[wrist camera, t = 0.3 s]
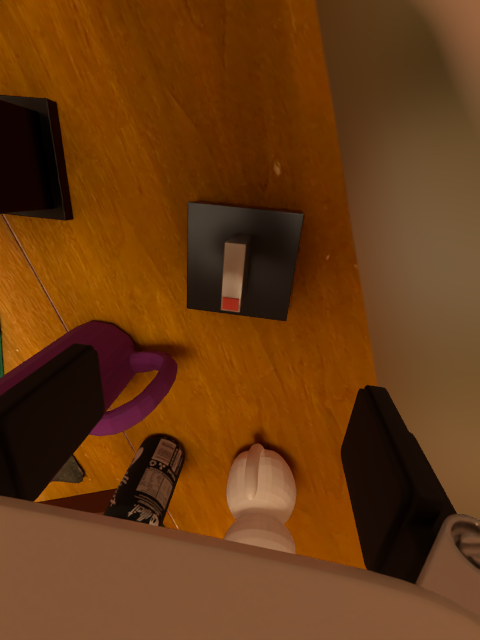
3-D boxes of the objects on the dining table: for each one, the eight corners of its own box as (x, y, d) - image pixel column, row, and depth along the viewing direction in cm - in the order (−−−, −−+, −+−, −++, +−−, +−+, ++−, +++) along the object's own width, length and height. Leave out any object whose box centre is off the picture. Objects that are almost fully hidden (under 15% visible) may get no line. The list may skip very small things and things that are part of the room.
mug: (60, 321, 36) (-75, 403, 22) (182, 312, 33) (113, 398, 20) (86, 383, 39) (-17, 487, 26) (197, 380, 37) (148, 492, 23)
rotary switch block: (196, 200, 28) (187, 201, 25) (301, 210, 27) (304, 213, 25) (194, 298, 32) (186, 308, 29) (285, 310, 31) (286, 321, 29)
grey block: (233, 233, 26) (224, 242, 22) (251, 235, 26) (245, 245, 21) (229, 292, 28) (219, 311, 24) (245, 294, 28) (239, 313, 24)
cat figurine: (240, 493, 44) (222, 628, 31) (219, 430, 40) (187, 556, 26) (300, 490, 42) (309, 633, 29) (285, 424, 38) (288, 556, 24)
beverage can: (145, 463, 44) (101, 553, 33) (139, 430, 42) (89, 516, 31) (187, 468, 43) (157, 561, 33) (184, 435, 41) (149, 524, 30)
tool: (69, 435, 46) (56, 449, 43) (90, 473, 48) (80, 489, 45) (-40, 462, 49) (-59, 477, 46) (-15, 496, 51) (-32, 513, 48)
